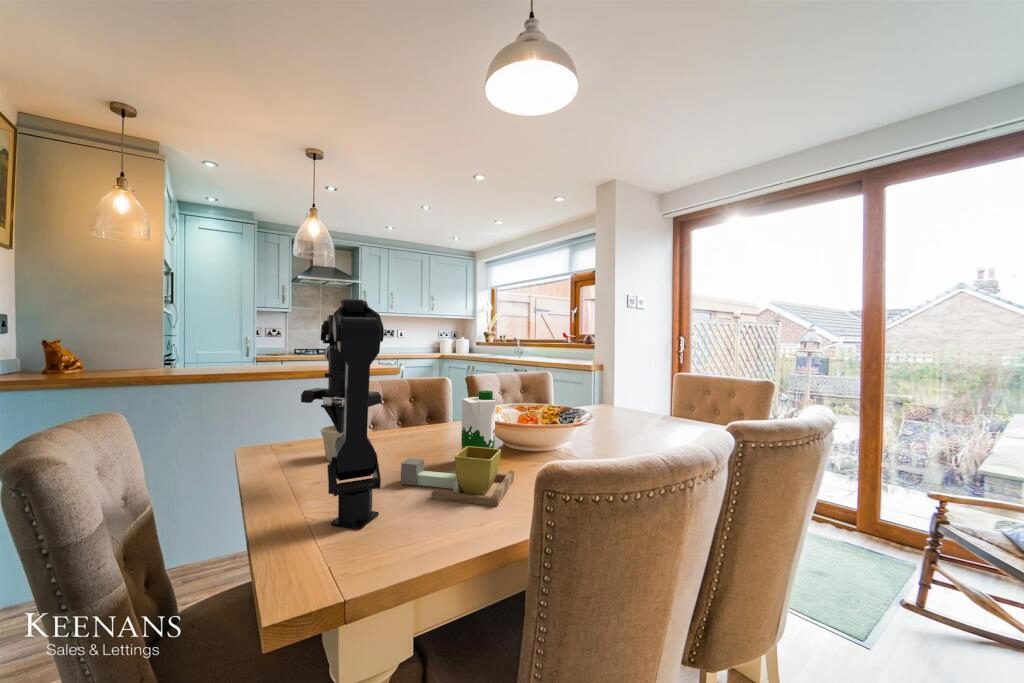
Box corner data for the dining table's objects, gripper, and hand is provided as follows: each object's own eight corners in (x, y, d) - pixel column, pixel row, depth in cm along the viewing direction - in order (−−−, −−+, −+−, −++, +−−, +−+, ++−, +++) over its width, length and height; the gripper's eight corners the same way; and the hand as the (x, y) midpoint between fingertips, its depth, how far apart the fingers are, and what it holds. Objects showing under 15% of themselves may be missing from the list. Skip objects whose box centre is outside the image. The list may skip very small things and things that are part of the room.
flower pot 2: (501, 485, 99) (501, 448, 98) (490, 500, 90) (491, 459, 90) (466, 482, 101) (467, 445, 101) (453, 495, 92) (453, 456, 92)
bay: (497, 506, 87) (497, 494, 87) (431, 498, 90) (431, 487, 90) (513, 480, 102) (513, 470, 102) (456, 475, 105) (456, 465, 105)
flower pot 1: (322, 454, 121) (322, 425, 121) (356, 452, 124) (356, 423, 124) (317, 464, 112) (317, 433, 112) (354, 461, 115) (354, 431, 115)
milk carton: (498, 465, 114) (499, 393, 113) (467, 469, 110) (468, 395, 110) (486, 456, 122) (487, 389, 121) (457, 459, 118) (458, 390, 118)
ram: (457, 493, 93) (458, 471, 93) (396, 486, 96) (396, 465, 96) (469, 481, 101) (469, 461, 101) (412, 475, 104) (412, 455, 104)
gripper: (393, 367, 104) (393, 428, 104) (331, 364, 109) (330, 422, 109) (367, 371, 93) (367, 439, 94) (299, 367, 98) (299, 432, 98)
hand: (341, 432), depth 99 cm, fingers closed
